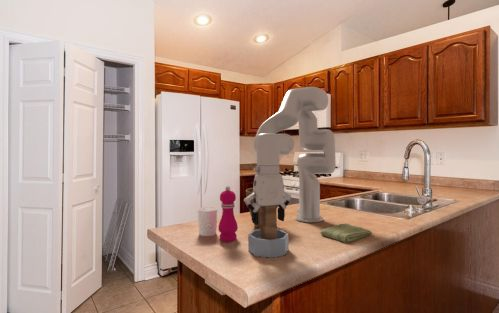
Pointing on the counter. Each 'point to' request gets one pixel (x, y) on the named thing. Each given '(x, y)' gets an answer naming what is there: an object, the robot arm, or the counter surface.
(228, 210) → the pepper mill
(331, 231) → the washcloth
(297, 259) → the counter surface
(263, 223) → the brown wooden block
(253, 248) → the grey pet bowl
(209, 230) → the white cup
